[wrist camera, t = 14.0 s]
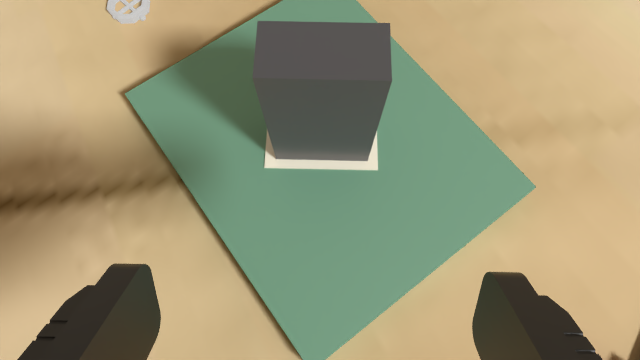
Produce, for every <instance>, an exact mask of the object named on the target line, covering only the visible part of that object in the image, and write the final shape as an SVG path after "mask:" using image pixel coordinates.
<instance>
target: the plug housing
mask: <svg viewBox="0 0 640 360" xmlns="http://www.w3.org/2000/svg"><path fill="white" fill-rule="evenodd" d="M252 78H253V82H254V85H255V89H256V92H257V96H258V99H259V102H260V106H261V109H262V113H263V116H264V120H265V123H266V126H267V130H268V133H269V137H270V140H271V144H272V147H273V150H274V154H275V157H276V159H290V160H336V161H368V158H369V155H370V151H371V148H372V145H373V142H374V138H375V135H376V132H377V129H378V125H379V122H380V119H381V116H382V112H383V109H384V106H385V102H386V99H387V96H388V93H389V89H390V86H391V83H392V65H391V39H390V23H351V22H296V21H257V32H256V44H255V55H254V66H253V77H252Z"/></svg>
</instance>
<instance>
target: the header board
mask: <svg viewBox="0 0 640 360" xmlns="http://www.w3.org/2000/svg"><path fill="white" fill-rule="evenodd" d="M257 21H296V22H351V23H377V22H376V20H375V19H374V18H373V17H372V16H371V15H370V14H369V13H368V12H367V11H366V10H365V9H364V8H363V7H362V6H361V5H360V4H359V3H358V2H357V1H356V0H283V1H281V2H279V3H278V4H276V5H274V6H273V7H271V8H269V9H267V10H266V11H264V12H262V13H261V14H259V15H257V16H256V17H254V18H252V19H251V20H249V21H247V22H245V23H244V24H242V25H240V26H239V27H237V28H235V29H234V30H232V31H230V32H228V33H227V34H225V35H223V36H222V37H220V38H218V39H217V40H215V41H213V42H211V43H210V44H208V45H206V46H205V47H203V48H201V49H200V50H198V51H196V52H195V53H193V54H191V55H189V56H188V57H186V58H184V59H183V60H181V61H179V62H178V63H176V64H174V65H172V66H171V67H169V68H167V69H166V70H164V71H162V72H161V73H159V74H157V75H156V76H154V77H152V78H150V79H149V80H147V81H145V82H144V83H142V84H140V85H139V86H137V87H135V88H133V89H132V90H130V91H128V92H127V93H125V95H126V97H127V98H128V100H129V101H130V103H131V104H132V106H133V107H134V109H135V110H136V112H137V113H138V115H139V116H140V118H141V119H142V121H143V122H144V124H145V125H146V127H147V128H148V130H149V131H150V133H151V134H152V136H153V137H154V139H155V140H156V141H157V143H158V144H159V146H160V147H161V149H162V150H163V152H164V153H165V155H166V156H167V158H168V159H169V161H170V162H171V164H172V165H173V167H174V168H175V170H176V171H177V173H178V174H179V176H180V177H181V179H182V180H183V182H184V183H185V185H186V186H187V188H188V189H189V191H190V192H191V194H192V195H193V197H194V198H195V200H196V201H197V203H198V204H199V206H200V207H201V209H202V210H203V212H204V213H205V215H206V216H207V217H208V219H209V220H210V222H211V223H212V225H213V226H214V228H215V229H216V231H217V232H218V234H219V235H220V237H221V238H222V240H223V241H224V243H225V244H226V246H227V247H228V249H229V250H230V252H231V253H232V255H233V256H234V258H235V259H236V261H237V262H238V264H239V265H240V267H241V268H242V270H243V271H244V273H245V274H246V276H247V277H248V279H249V280H250V282H251V283H252V285H253V286H254V288H255V289H256V291H257V292H258V294H259V295H260V296H261V298H262V299H263V301H264V302H265V304H266V305H267V307H268V308H269V310H270V311H271V313H272V314H273V316H274V317H275V319H276V320H277V322H278V323H279V325H280V326H281V328H282V329H283V331H284V332H285V334H286V335H287V337H288V338H289V340H290V341H291V343H292V344H293V346H294V347H295V349H296V350H297V352H298V353H299V355H300V356H301V358H302V359H303V360H325V359H327V358H328V357H329V356H330V355H331V354H333V353H334V352H335V351H336V350H338V349H339V348H340V347H341V346H343V345H344V344H345V343H346V342H347V341H349V340H350V339H351V338H352V337H354V336H355V335H356V334H357V333H358V332H360V331H361V330H362V329H363V328H365V327H366V326H367V325H368V324H369V323H371V322H372V321H373V320H374V319H376V318H377V317H378V316H379V315H380V314H382V313H383V312H384V311H385V310H387V309H388V308H389V307H390V306H391V305H393V304H394V303H395V302H396V301H398V300H399V299H400V298H401V297H402V296H404V295H405V294H406V293H407V292H409V291H410V290H411V289H412V288H413V287H415V286H416V285H417V284H418V283H420V282H421V281H422V280H423V279H424V278H426V277H427V276H428V275H429V274H431V273H432V272H433V271H434V270H435V269H437V268H438V267H439V266H440V265H442V264H443V263H444V262H445V261H447V260H448V259H449V258H450V257H451V256H453V255H454V254H455V253H456V252H458V251H459V250H460V249H461V248H462V247H464V246H465V245H466V244H467V243H469V242H470V241H471V240H472V239H473V238H475V237H476V236H477V235H478V234H480V233H481V232H482V231H483V230H484V229H486V228H487V227H488V226H489V225H491V224H492V223H493V222H494V221H495V220H497V219H498V218H499V217H500V216H502V215H503V214H504V213H505V212H506V211H508V210H509V209H510V208H511V207H513V206H514V205H515V204H516V203H517V202H519V201H520V200H521V199H522V198H524V197H525V196H526V195H527V194H528V193H530V192H531V191H532V190H533V189H535V188H536V186H535V185H534V184H533V183H532V182H531V181H530V180H529V179H528V178H527V177H526V176H525V175H524V174H523V173H522V172H521V171H520V170H519V169H518V168H517V167H516V165H515V164H514V163H513V162H512V161H511V160H510V159H509V158H508V157H507V156H506V155H505V154H504V153H503V152H502V151H501V150H500V149H499V148H498V147H497V146H496V145H495V144H494V143H493V142H492V141H491V140H490V139H489V138H488V136H487V135H486V134H485V133H484V132H483V131H482V130H481V129H480V128H479V127H478V126H477V125H476V124H475V123H474V122H473V121H472V120H471V119H470V118H469V117H468V116H467V115H466V114H465V113H464V112H463V111H462V110H461V109H460V107H459V106H458V105H457V104H456V103H455V102H454V101H453V100H452V99H451V98H450V97H449V96H448V95H447V94H446V93H445V92H444V91H443V90H442V89H441V88H440V87H439V86H438V85H437V84H436V83H435V82H434V81H433V80H432V78H431V77H430V76H429V75H428V74H427V73H426V72H425V71H424V70H423V69H422V68H421V67H420V66H419V65H418V64H417V63H416V62H415V61H414V60H413V59H412V58H411V57H410V56H409V55H408V54H407V53H406V52H405V51H404V49H403V48H402V47H401V46H400V45H399V44H398V43H397V42H396V41H395V40H394V39H393V38H392V37H391V36H390V39H391V65H392V83H391V86H390V89H389V93H388V96H387V99H386V102H385V106H384V109H383V112H382V116H381V119H380V122H379V125H378V129H377V132H376V135H375V138H374V142H373V145H372V148H371V151H370V155H369V158H368V161H336V160H290V159H276V157H275V154H274V150H273V147H272V144H271V140H270V137H269V133H268V130H267V126H266V123H265V120H264V116H263V113H262V109H261V106H260V102H259V99H258V96H257V92H256V89H255V85H254V82H253V78H252V77H253V66H254V55H255V44H256V32H257Z"/></svg>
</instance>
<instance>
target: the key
mask: <svg viewBox="0 0 640 360" xmlns="http://www.w3.org/2000/svg"><path fill="white" fill-rule="evenodd" d="M119 1H121V2H122V3H124V4H125V5H126V6H125V7H124V8H122V9H121V10H120V11H118V12H116V11H115V4H116V3H117V2H119ZM139 1H140V0H133V1H132V2H130V3H128V2H127V1H126V0H108V4H107V10H108V11H109V13H110V14H111V15H112V16H113V18H114V19H117V20H118V21H119V22H120V23H121V24H123V23H135V22H137V21H138V20H139V19H141V20H142V21H144V20H145V19H146V17H145V15H146V14H147V13H148V12H149V8H150V0H142V4H141V6H139V7H138V8H137V9H135V8H134V7H133V6H134V5H135V4H136V3H138V2H139ZM128 9H131V10H132V11H133V12H132V13H130V14H123V13H124V12H126V11H127V10H128Z"/></svg>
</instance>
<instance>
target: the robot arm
mask: <svg viewBox="0 0 640 360" xmlns="http://www.w3.org/2000/svg"><path fill="white" fill-rule="evenodd" d="M160 320H161V315H160V308H159V304H158V299H157V295H156V290H155V286H154V282H153V277H152V273H151V269H150V267H149V266H148V265H146V264H113V265H111V266H110V267H109V268H108V269H107V271H106V272H105V273H104V274H103V276H102V277H101V278H100V280H99V281H98V282H97V284H96V285H87V286H86V287H84V288H83V289H82V290H80V291H79V292H78V293H76V294H75V295H73V296H72V297H71V298H69V299H68V300H66V301H65V302H64V304H63V305H62V306H61V307H60V308H59V310H58V311H57V312H56V313H55V315H54V316H53V317H52V318H51V319H50V323H49V324H46V326H45V327H44V328H43V329H42V330H41V332H40V333H39V334H38V335H37V339H36V341H32V343H31V344H30V345H29V346H28V347H27V349H26V350H25V351H24V352H23V354H22V355H21V356H20V357H19V358H18V360H147V357H148V355H149V353H150V351H151V349H152V347H153V345H154V343H155V341H156V338H157V336H158V332H159V328H160ZM472 329H473V338H474V343H475V346H476V349H477V351H478V354H479V356H480V359H481V360H602V358H601V357H600V356H599V354H596V353H595V349H594V347H593V346H592V345H591V343H590V342H589V340H588V339H587V338H586V337H584V336H583V332H582V331H581V330H580V328H579V327H578V325H577V324H576V323H575V321H574V320H573V319H572V317H571V316H570V314H569V313H568V312H567V311H565V310H564V309H563V308H562V307H560V306H559V305H558V304H557V303H555V302H554V301H553V300H552V299H550V298H549V297H548V296H538V294H537V293H536V291H535V290H534V288H533V287H532V285H531V284H530V283H529V281H528V280H527V278H526V277H525V276H524V275H523V274H522V273H513V272H487V273H486V274H485V275H484V278H483V281H482V285H481V289H480V293H479V297H478V301H477V305H476V309H475V313H474V317H473V325H472Z"/></svg>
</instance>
